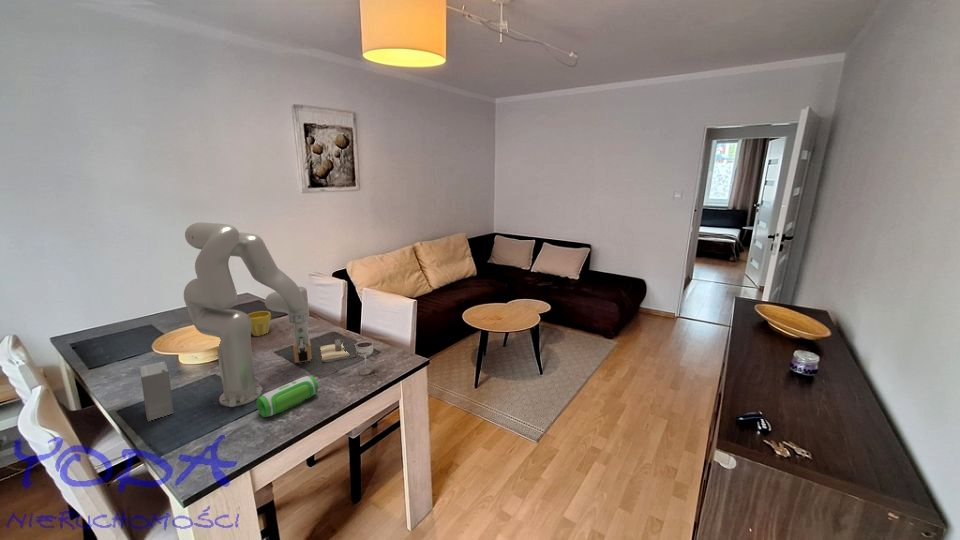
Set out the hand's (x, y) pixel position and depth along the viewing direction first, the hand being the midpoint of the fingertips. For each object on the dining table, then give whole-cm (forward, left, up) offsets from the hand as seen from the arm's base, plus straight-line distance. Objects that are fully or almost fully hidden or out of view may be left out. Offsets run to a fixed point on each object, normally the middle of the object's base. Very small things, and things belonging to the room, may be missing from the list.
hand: (303, 356), depth 156 cm
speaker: (-33, +5, -2) cm, 34 cm away
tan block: (0, 0, -1) cm, 1 cm away
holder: (0, -14, -1) cm, 14 cm away
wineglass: (-21, -22, -1) cm, 30 cm away
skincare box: (-21, +42, -1) cm, 47 cm away
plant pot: (+37, +18, -1) cm, 41 cm away
